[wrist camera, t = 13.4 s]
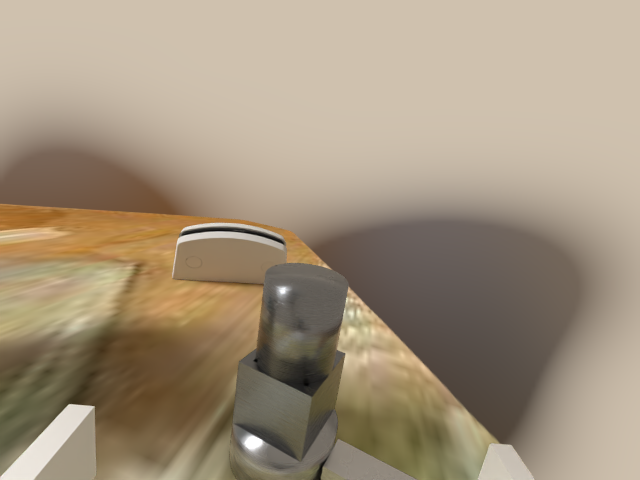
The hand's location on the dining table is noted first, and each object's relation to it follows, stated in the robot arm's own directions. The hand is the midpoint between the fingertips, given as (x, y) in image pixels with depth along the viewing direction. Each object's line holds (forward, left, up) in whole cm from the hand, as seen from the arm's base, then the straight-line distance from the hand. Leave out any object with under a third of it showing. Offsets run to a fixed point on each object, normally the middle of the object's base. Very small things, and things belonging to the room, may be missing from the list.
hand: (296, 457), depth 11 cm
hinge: (-27, +29, -11) cm, 41 cm away
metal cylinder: (-4, +8, -7) cm, 12 cm away
